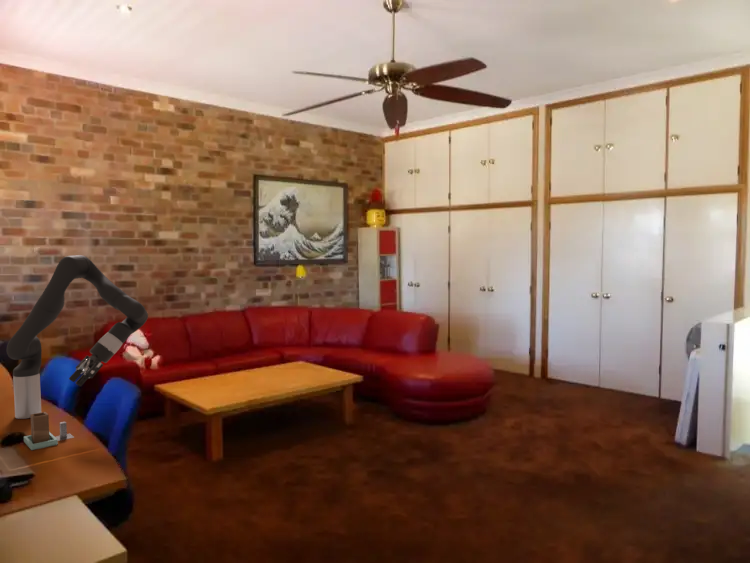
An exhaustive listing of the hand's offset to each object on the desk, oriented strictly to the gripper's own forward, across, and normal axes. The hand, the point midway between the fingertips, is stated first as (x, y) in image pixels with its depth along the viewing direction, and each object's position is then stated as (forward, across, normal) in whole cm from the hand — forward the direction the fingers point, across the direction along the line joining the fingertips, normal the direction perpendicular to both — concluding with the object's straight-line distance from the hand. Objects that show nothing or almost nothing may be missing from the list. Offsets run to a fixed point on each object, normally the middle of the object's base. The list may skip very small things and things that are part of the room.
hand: (74, 382), depth 203 cm
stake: (+17, -1, +11) cm, 21 cm away
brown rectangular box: (+22, 0, +5) cm, 22 cm away
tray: (+22, 0, +6) cm, 23 cm away
